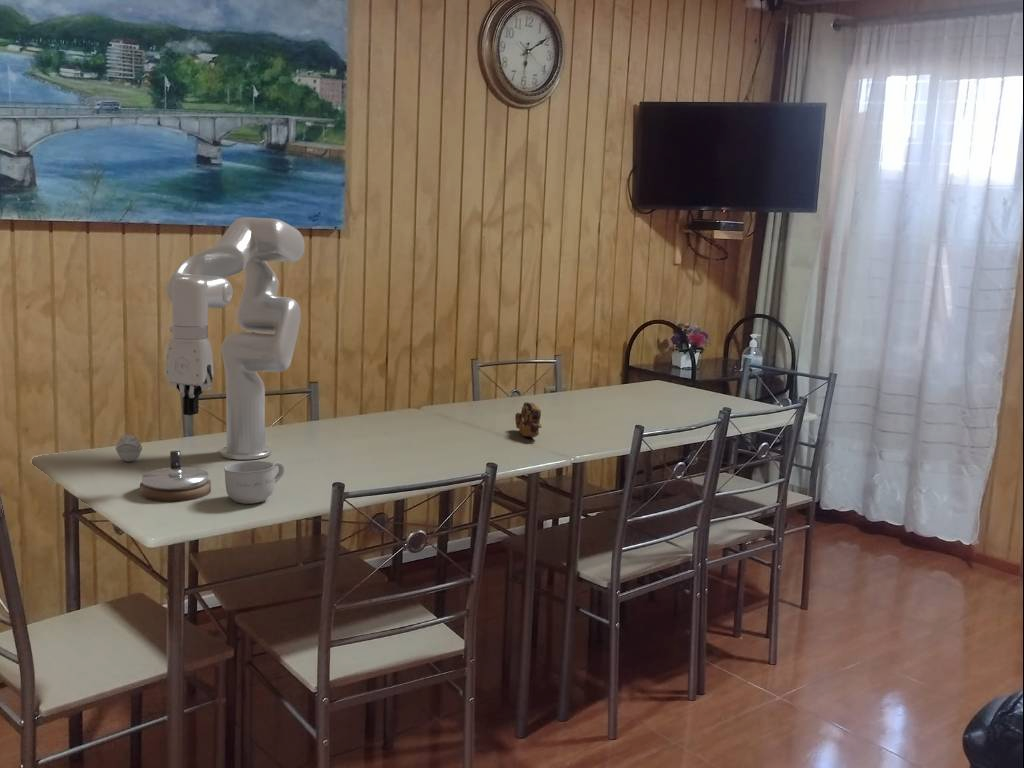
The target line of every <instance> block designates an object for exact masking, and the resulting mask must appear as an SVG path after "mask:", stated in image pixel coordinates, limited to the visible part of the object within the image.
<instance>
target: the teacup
mask: <svg viewBox="0 0 1024 768" xmlns="http://www.w3.org/2000/svg"><path fill="white" fill-rule="evenodd" d="M275 467H278V472H277V473H276V475H275ZM223 470H224V482H225V483H224V484H225V489H226V490H225V491H226V494H227V496H228V497H230V498H231V499H232V500H234V502H236V503H238V504H248V505H249V504H250V505H251V504H256V503H257V504H258V503H262V502H264V501H266V500H267V499H268V498H269V497H270V496H271V495H272V494H273V493H274V490H275V485H276V483H277V482H278V481H280V479H281V478H282V477H283V476H284V474H285V467H284V464H283V463H282V462H280V461H273V462H270V461H266V460H246V461H245V460H244V461H238V462H233V463H229V464H227V465H225V466H224V467H223Z"/></svg>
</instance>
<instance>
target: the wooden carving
mask: <svg viewBox="0 0 1024 768" xmlns="http://www.w3.org/2000/svg"><path fill="white" fill-rule="evenodd" d="M541 416H542V410H541V409H540V407H539V405H538V404H537V403H535V402H528V401H527V402H525V401H524V403H523V406H522V407H521V412H516V413H515V417H514V418H515V420H514V421H515V427H516V428H517V430H519V433H520V434H521V436H522V437H527V438H536V437H538V435H540V430H539V429H542V424H541V423H540V420H541Z"/></svg>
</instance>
